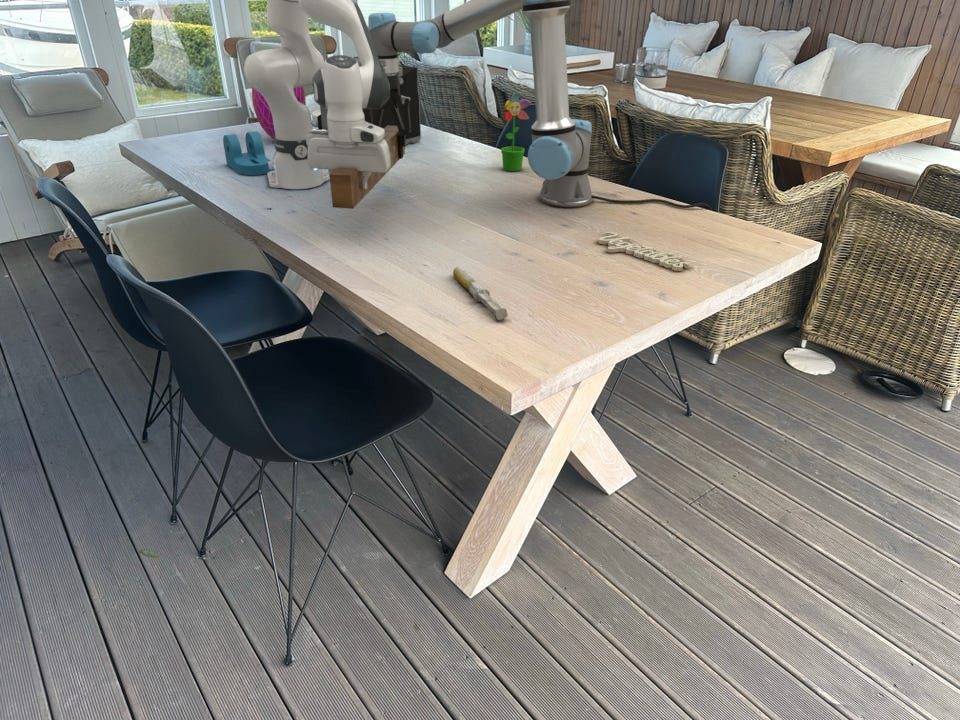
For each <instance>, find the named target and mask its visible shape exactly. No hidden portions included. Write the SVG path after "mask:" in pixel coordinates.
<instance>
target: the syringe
mask: <svg viewBox="0 0 960 720" xmlns="http://www.w3.org/2000/svg"><path fill="white" fill-rule="evenodd" d="M452 274H453V277H454V279H455V280H457V281H458V282H459V283H460V285H462V287H464V289H466V290H467V291H468V293H470V295H471V296H472V298H473V300H474V302H477V303H478V302H480V303H482V304H483V305H484V306H485V307H486V308H487V309H488V310H489V311H490V312H491V313H492V314H493V315H494V316H495V317H496V320H497V321H503V320H504V319H506V318H507V317H509V314H508V310H507V308H506V307H502V306H501V305H500V303H498V302H497V301H496V300H494V299H493V298H492V297H491V296H490V295H491V293H490V290H488V289H486V288H483V287H482V286H481V285H480V284H479V283H478V282H477V281H476V280H474V278H473V277H471V275H469V274H468V273H467V272H466V270H465V269H464V268H463V267H462V266H456V267H454V268H453V271H452Z"/></svg>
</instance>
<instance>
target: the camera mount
mask: <svg viewBox="0 0 960 720" xmlns="http://www.w3.org/2000/svg"><path fill="white" fill-rule="evenodd" d="M222 140H223V141H222V143H223V149H224V150H223V151H224V156H225V161H226V165H227V166H228V167H230V168H231V169H232V170H234V171H236V172H237V173H238V174H239V175H244V176H260V175H265V174H267V173H268V172H270V171H272V169H269V167H268V161H271V159H270V158H268V157H267V156H266V153H265V145H264V141H263V139H262V136H261V134H260V132H258V131H247V132H246V133H245V146H246V152H243V151H242V150H243V149H242V146H241V142H240V140H239V138H238V135H236V134H235V133H231V134H224V135H223V138H222Z"/></svg>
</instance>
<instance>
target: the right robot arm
mask: <svg viewBox="0 0 960 720" xmlns="http://www.w3.org/2000/svg"><path fill="white" fill-rule="evenodd" d="M570 8H571V0H468V1H466V2H464V3H462V4H460V5H458V6H456V7H454V8H452V9H450V10H448V11H446V12H444V13H442V14H439V15H437V16H435V17H434V18H431V19H425V20H419V21H398V20H397V18H396V15H395V13H394V12H372V13H370V14H369V15H368V18H367V22H368V24H367V27H368V30H369V32H370V35H371V38H372V41H373V44H374V46H375V49H376V52H377V55H378V57H379V60H380V62H381V65H382V66H383V68H384V70H385V73H386V75H387V78H388V81H389V85H390V97H389V99H388V101H387V102H386V103H385V104H384V105H383V106H382V107H381V108H380V109H377V116H376V121H375V126H378V127H380V126H381V121H382V115H383V111H384V109H391V110H392V113H393V115H394V118H395V121H396V124H397V127H398V131H399V135H398V136H397V139H398V155H399V160H402V159H403V158H404V155H403V147H405V148H406V146H407V145H406V139H405V135H406V134H409V133H410V132H411V120H410V108H409V105H410V101H411V98H410V97H405V96H402V94H401V92H400V86H399V76H398V74H397V73H398V72H399V69H398V65H399V56H398V54H399V53H414V54H421V55H424V54H433V53H434V52H436V49H442V48H445V47H448V45H451V44H452V43H453V42H455V41H456V40H458V39H461V38H464V37H465V36H467V35H469V34H471V33H474V32H476V31H478V30H480V29H483V28H485V27H486V26H489V25H491V24H494V23H496V22H497V21H500V20H502V19H504V18H506V17H508V16H510V15H512V14H515V13H517V12H519V11H521V10H522V14H523V15H525V16H526V17H527V19H528V20H529V32H530V46H531V58H532V59H531V61H532V62H531V63H532V75H533V89H534V102H535V103H534V105H535V121H534V123H533V124H532V125H531V144H530V145H529V148H528V151H527V162H528V164H529V167H530V169H531V171H532V172H533V173H535V175H537V176H538V177H540V178H541V179H543V182H542V185H541V186H542V187H541V189H540V192H539V200H540V202H542V203H543V204H546V205H549V206H553V207H558V208H559V207H560V208H580V207H584V206H588V205H589V204H591V203H592V199H594V200H600V201H604V202H607V203H616V204H643V203H661V204H662V203H663V204H666V205H669V206H671V207H675V208H680V209H681V208H682V209H691V208H697V207H705V208H707V209H708V210H710V211H711V210H713V208H712V206H710V205H709V204H708V203H706V202H705V203H704V202H699V203H693V204H681V203H680V204H679V203H677V202H673V201H669V200H665V199H659V198H648V199H632V200H631V199H627V200H625V199H624V200H623V199H612V198H606V197H602V196H598V195H593V193H592V188H591V184H590V179H589V165H590V153H591V142H592V134H593V131H592V130H593V129H592V127H593V126H592V123H591V122H590V121H589V120H585V119H579V118H571V117H570V107H569V105H570V104H569V85H568V65H567V45H566V43H567V42H566V23H565V22H566V21H565V16H566V13H567V12H568V11H569V9H570ZM400 99H401V100H402V104H403V105H404V119H405V129H404V126H403V123H402V119H401V116H400V113H399V109H398V105H397V104H398V103H399V101H400ZM366 119H367V122H368V123H370V124H373V114H372V109H366ZM405 145H406V146H405Z"/></svg>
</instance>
